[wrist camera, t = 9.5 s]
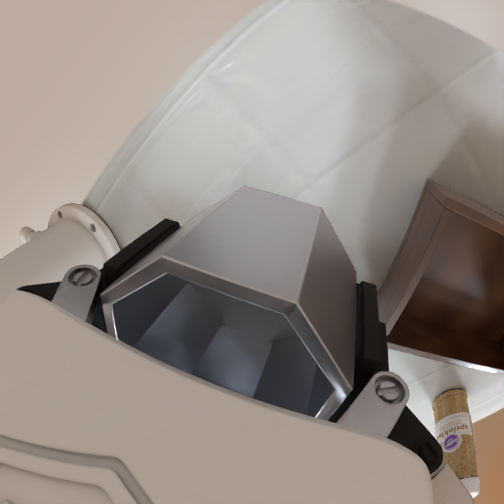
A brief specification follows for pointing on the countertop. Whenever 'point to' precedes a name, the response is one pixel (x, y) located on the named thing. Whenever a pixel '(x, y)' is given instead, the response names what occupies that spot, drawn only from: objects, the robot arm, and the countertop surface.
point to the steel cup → (247, 302)
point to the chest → (448, 283)
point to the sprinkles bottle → (457, 437)
